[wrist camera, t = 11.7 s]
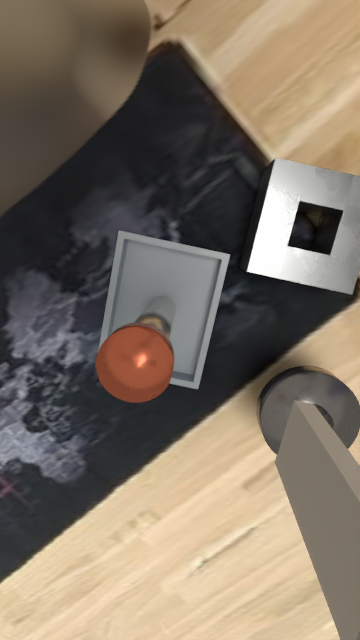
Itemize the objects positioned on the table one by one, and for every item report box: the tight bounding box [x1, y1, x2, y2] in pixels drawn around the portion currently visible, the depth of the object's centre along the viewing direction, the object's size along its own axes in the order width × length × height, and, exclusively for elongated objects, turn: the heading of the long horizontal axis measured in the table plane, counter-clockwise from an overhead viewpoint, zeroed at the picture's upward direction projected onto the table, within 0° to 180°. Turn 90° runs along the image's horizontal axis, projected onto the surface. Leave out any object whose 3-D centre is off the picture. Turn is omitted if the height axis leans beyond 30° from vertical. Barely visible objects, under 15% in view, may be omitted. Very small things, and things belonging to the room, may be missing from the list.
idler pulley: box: [257, 366, 360, 454], centre depth 31 cm, size 8×8×9 cm
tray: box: [95, 231, 230, 389], centre depth 33 cm, size 13×10×2 cm
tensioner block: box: [239, 158, 360, 294], centre depth 30 cm, size 9×9×5 cm
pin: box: [96, 296, 176, 403], centre depth 26 cm, size 4×4×16 cm
